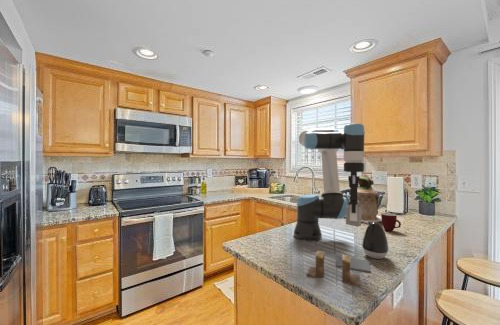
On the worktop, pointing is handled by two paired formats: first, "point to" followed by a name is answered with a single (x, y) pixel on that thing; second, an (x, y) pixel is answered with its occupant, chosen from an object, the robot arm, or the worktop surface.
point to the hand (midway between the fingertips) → (353, 219)
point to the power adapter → (358, 222)
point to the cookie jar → (367, 201)
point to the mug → (389, 221)
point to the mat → (356, 264)
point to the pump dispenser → (375, 241)
